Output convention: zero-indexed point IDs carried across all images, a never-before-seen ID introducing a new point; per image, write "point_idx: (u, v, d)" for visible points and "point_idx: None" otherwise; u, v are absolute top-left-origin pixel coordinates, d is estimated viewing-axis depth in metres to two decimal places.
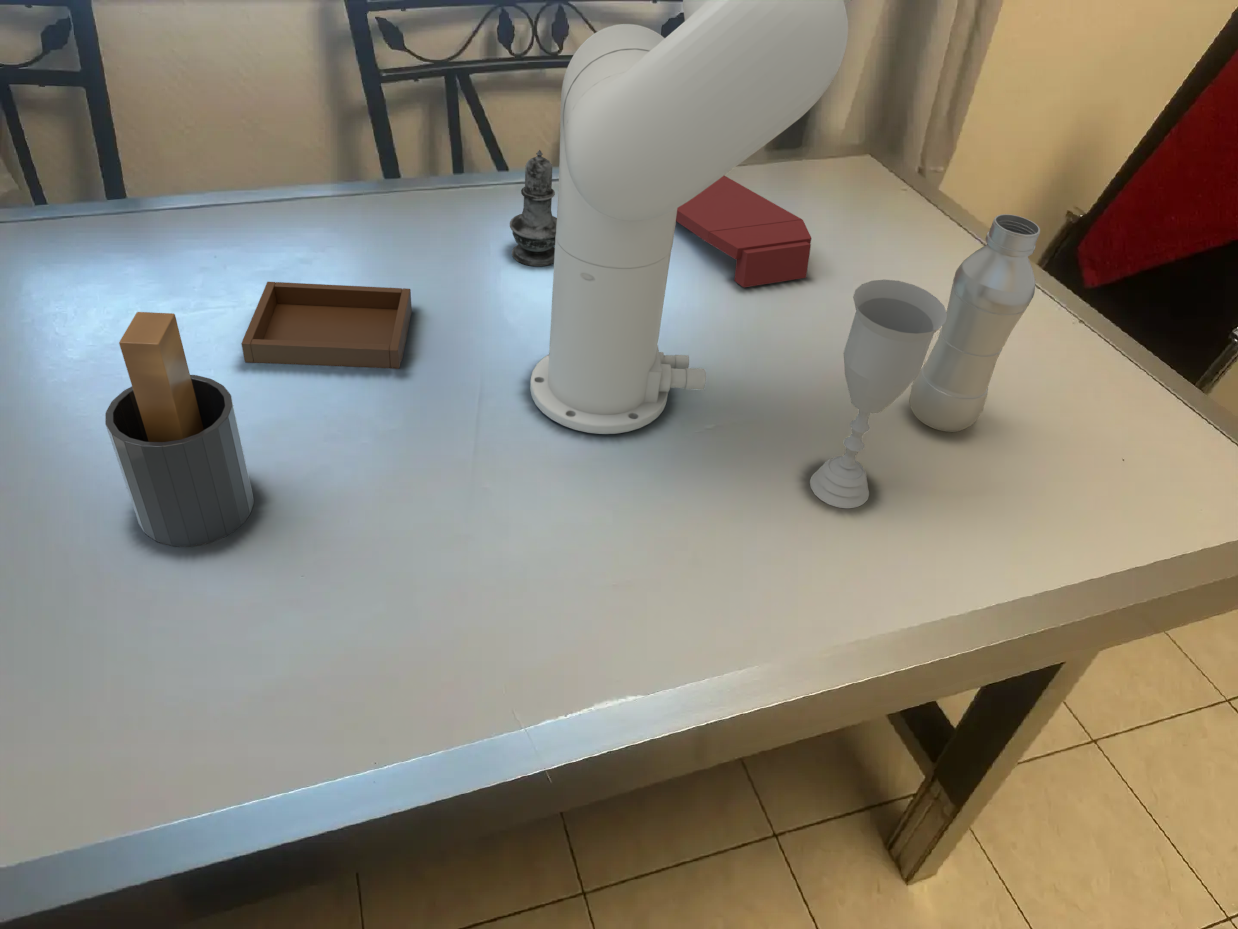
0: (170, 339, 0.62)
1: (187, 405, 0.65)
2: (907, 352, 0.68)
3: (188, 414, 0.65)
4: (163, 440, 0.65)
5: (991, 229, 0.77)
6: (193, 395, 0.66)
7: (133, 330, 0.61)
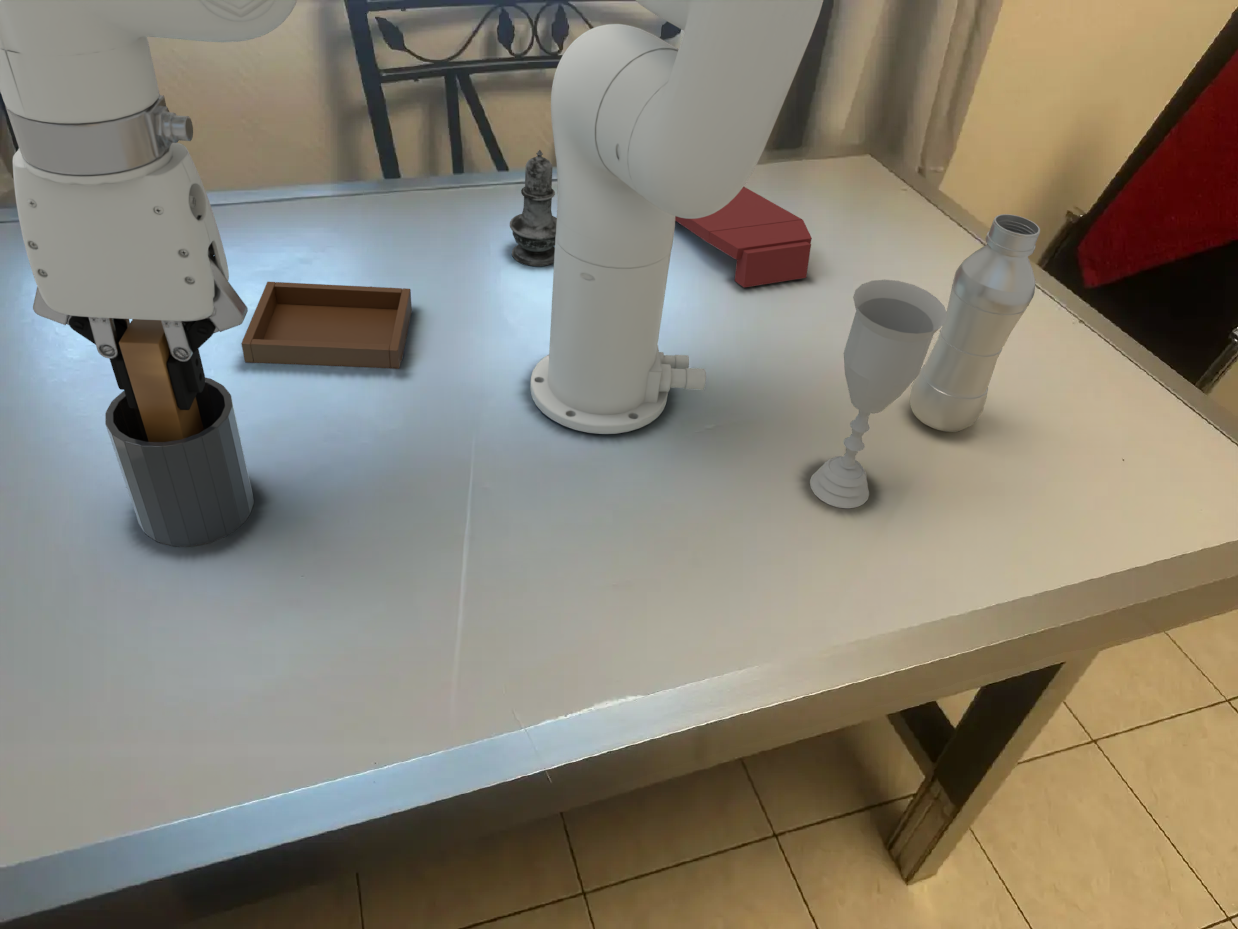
0: None
1: None
2: (907, 352, 0.68)
3: (188, 414, 0.65)
4: (163, 440, 0.65)
5: (991, 229, 0.77)
6: None
7: (133, 330, 0.61)
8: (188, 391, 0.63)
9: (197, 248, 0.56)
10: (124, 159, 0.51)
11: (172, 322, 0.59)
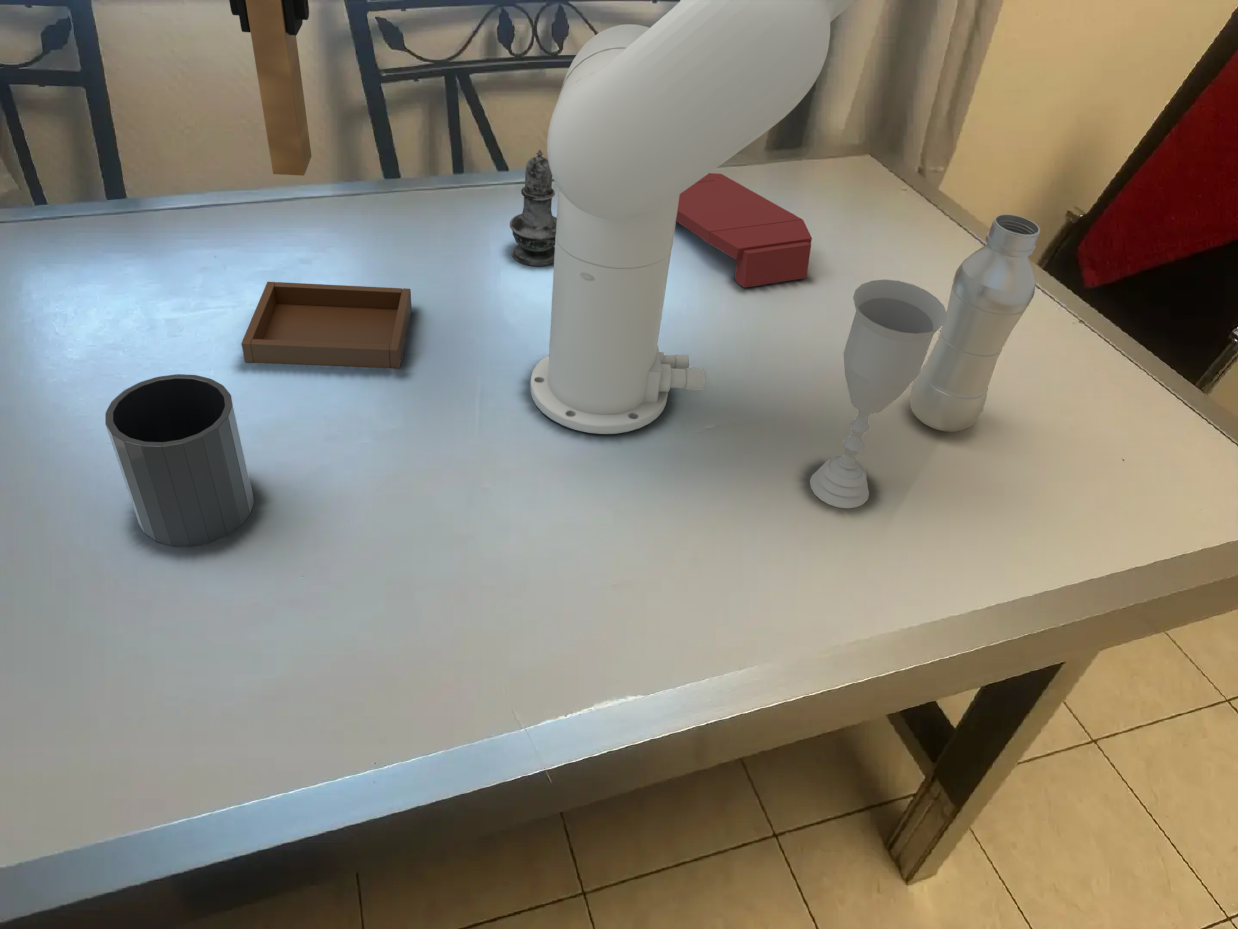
0: None
1: (291, 39, 0.70)
2: (907, 352, 0.68)
3: (292, 49, 0.70)
4: (270, 70, 0.69)
5: (991, 229, 0.77)
6: (295, 35, 0.71)
7: None
8: (295, 16, 0.68)
9: None
10: None
11: None
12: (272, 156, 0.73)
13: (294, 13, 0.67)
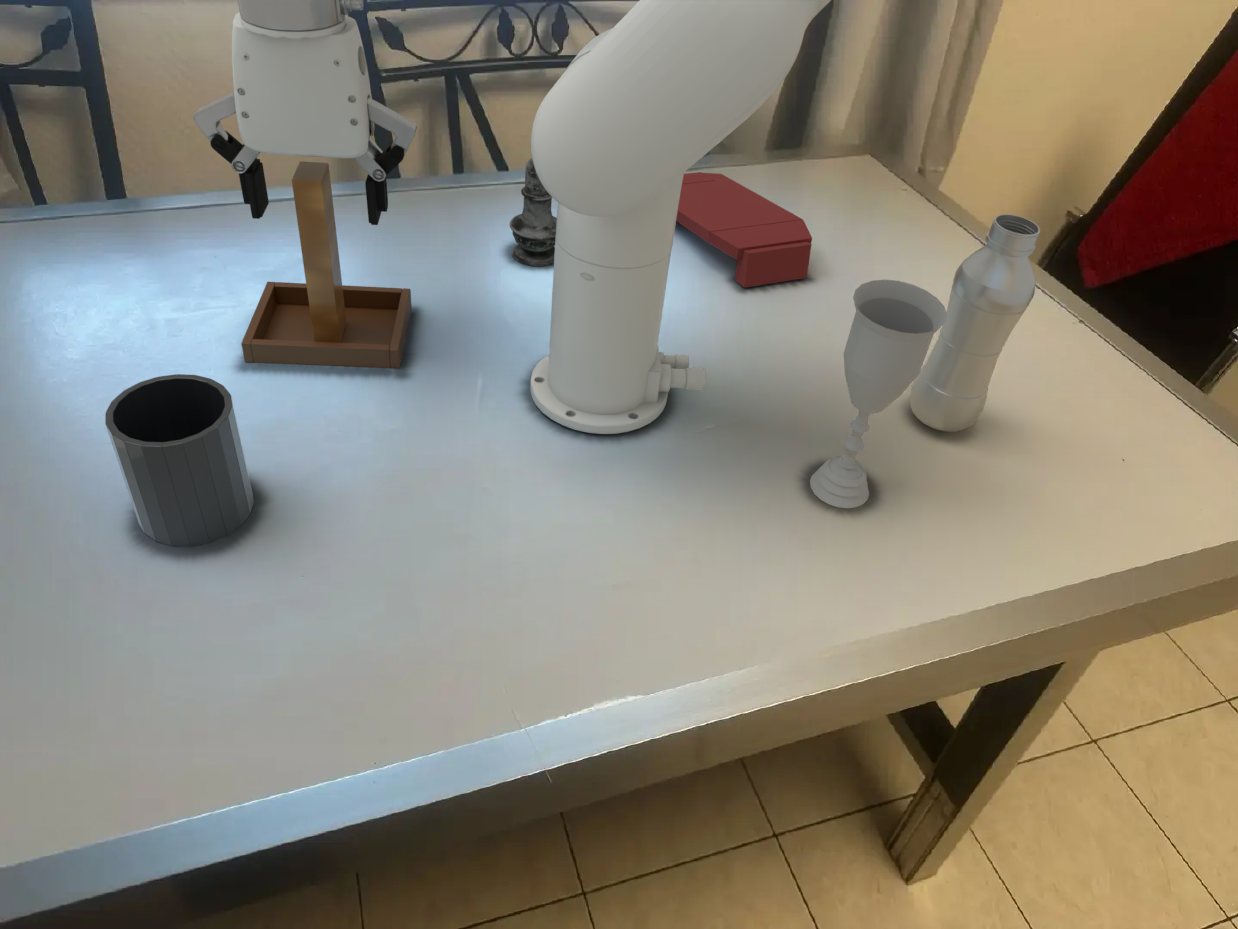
0: (326, 181, 0.80)
1: (333, 239, 0.84)
2: (907, 352, 0.68)
3: (333, 247, 0.84)
4: (315, 266, 0.83)
5: (991, 229, 0.77)
6: (335, 234, 0.85)
7: (300, 172, 0.79)
8: (377, 209, 0.81)
9: (361, 96, 0.74)
10: (319, 19, 0.69)
11: None
12: (314, 329, 0.88)
13: (376, 208, 0.81)
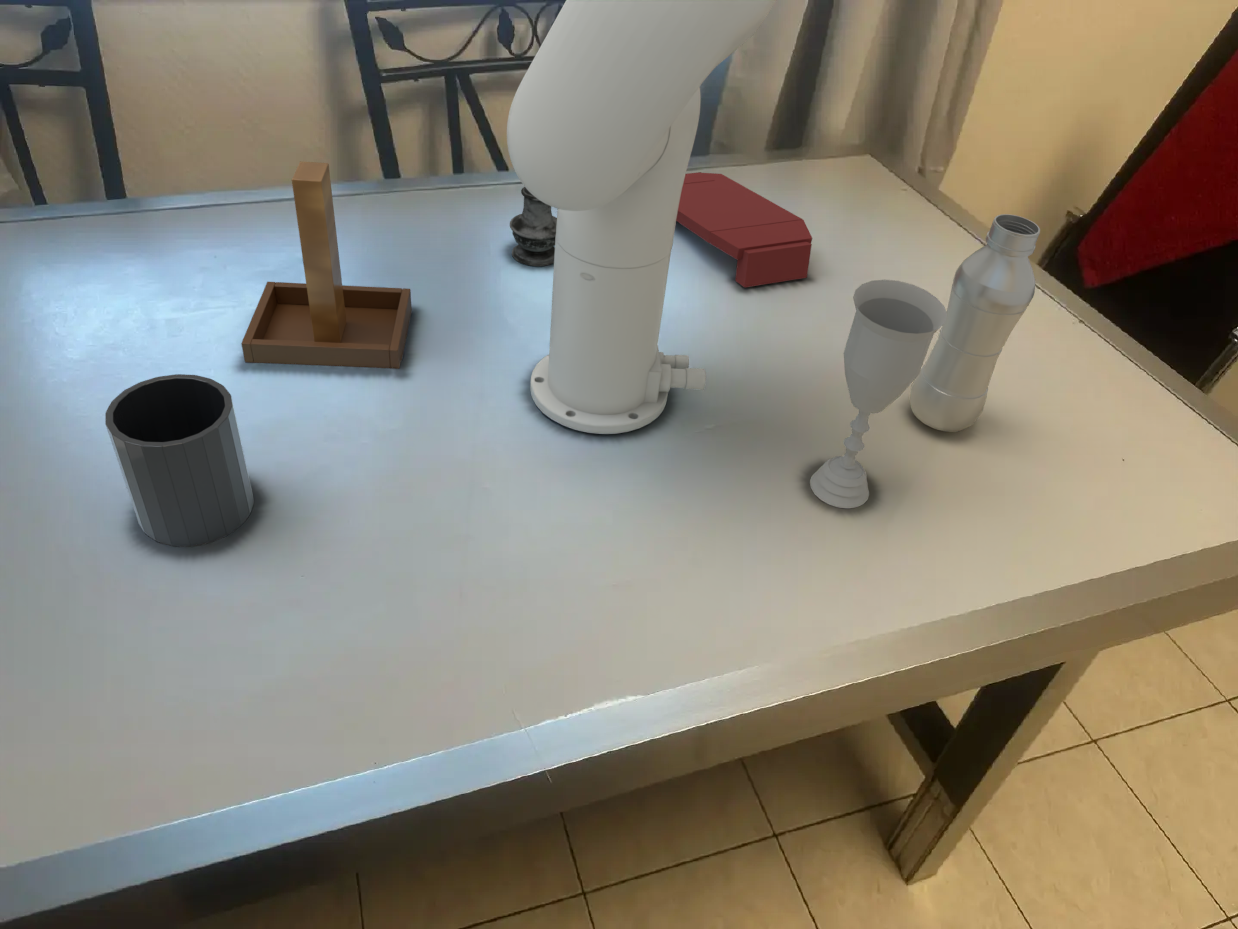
0: (326, 181, 0.80)
1: (333, 239, 0.84)
2: (907, 352, 0.68)
3: (333, 247, 0.84)
4: (315, 266, 0.83)
5: (991, 229, 0.77)
6: (335, 234, 0.85)
7: (300, 172, 0.79)
8: None
9: None
10: None
11: None
12: (314, 329, 0.88)
13: None
